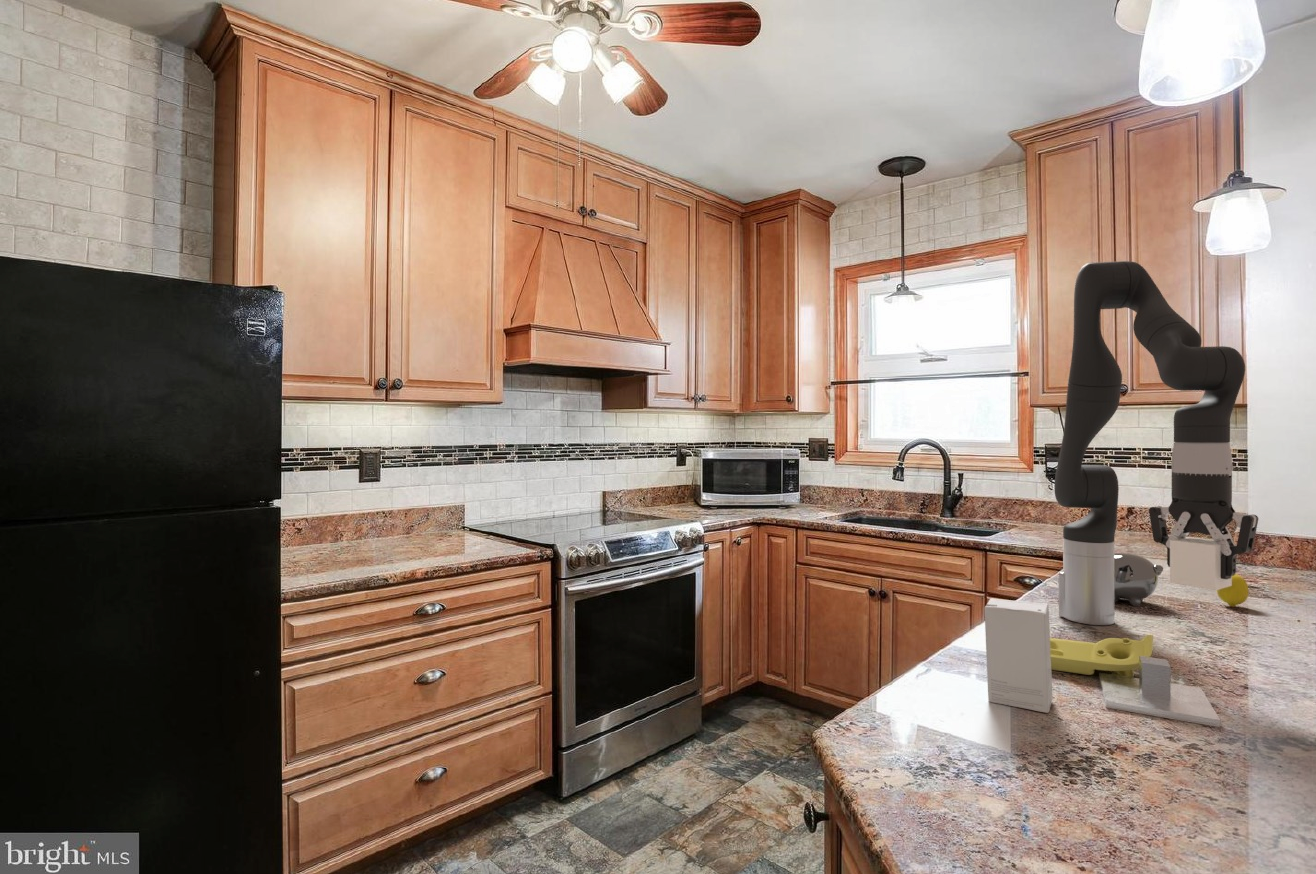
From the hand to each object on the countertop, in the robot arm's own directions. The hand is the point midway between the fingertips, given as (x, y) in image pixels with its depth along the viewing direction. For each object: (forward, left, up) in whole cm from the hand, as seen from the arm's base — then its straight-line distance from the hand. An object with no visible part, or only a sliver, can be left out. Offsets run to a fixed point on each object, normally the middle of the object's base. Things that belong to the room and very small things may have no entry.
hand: (1200, 574), depth 106 cm
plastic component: (-13, -10, -18) cm, 24 cm away
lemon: (-17, +60, -18) cm, 65 cm away
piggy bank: (-32, +44, -18) cm, 57 cm away
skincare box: (-10, -33, -18) cm, 39 cm away
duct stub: (0, -15, -17) cm, 23 cm away
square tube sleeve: (0, 0, -2) cm, 2 cm away
